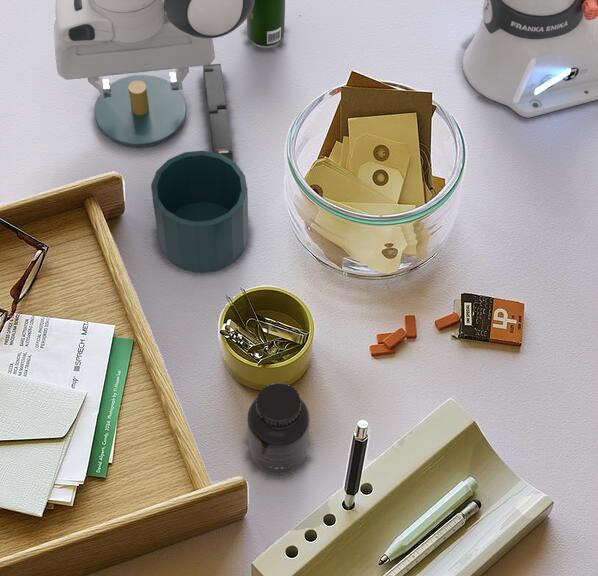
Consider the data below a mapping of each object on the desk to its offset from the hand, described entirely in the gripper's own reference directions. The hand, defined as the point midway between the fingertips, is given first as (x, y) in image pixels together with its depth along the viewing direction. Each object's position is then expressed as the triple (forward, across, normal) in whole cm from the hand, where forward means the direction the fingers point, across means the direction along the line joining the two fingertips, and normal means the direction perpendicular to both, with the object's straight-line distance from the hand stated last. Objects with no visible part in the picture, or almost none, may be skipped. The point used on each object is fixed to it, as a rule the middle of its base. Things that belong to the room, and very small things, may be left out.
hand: (141, 90), depth 139 cm
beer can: (+5, -18, -12) cm, 23 cm away
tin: (+4, -6, +22) cm, 23 cm away
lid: (+4, 0, 0) cm, 4 cm away
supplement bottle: (+5, -10, +53) cm, 54 cm away
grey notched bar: (+5, -10, +3) cm, 11 cm away
